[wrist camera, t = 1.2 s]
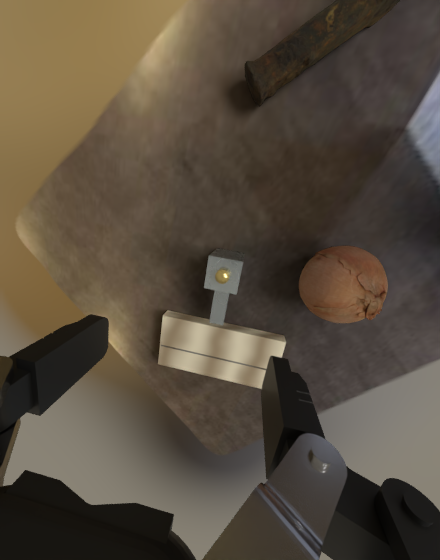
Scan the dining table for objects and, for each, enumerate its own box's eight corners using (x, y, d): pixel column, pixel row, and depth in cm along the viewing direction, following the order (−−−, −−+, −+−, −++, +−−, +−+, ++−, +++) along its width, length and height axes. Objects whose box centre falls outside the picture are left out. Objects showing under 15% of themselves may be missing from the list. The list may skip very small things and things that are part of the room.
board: (283, 335, 33) (286, 342, 31) (270, 382, 36) (271, 391, 34) (167, 310, 35) (162, 315, 33) (162, 356, 38) (157, 364, 36)
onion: (346, 275, 33) (417, 310, 24) (295, 310, 33) (348, 357, 24) (333, 222, 28) (416, 242, 19) (273, 262, 28) (330, 301, 19)
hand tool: (256, 114, 27) (258, 93, 22) (242, 80, 26) (241, 51, 21) (426, 8, 22) (471, -44, 18) (416, -36, 21) (459, -103, 17)
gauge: (244, 253, 31) (242, 263, 24) (232, 315, 34) (227, 341, 26) (217, 248, 31) (207, 256, 24) (207, 310, 34) (195, 334, 27)
